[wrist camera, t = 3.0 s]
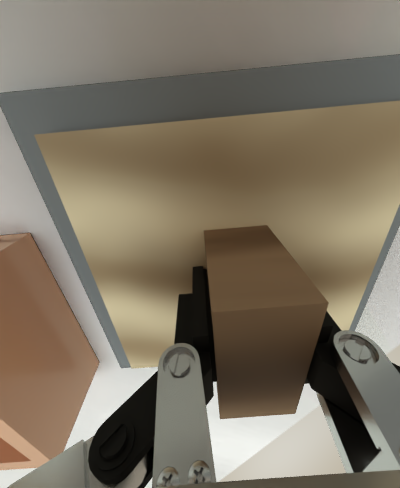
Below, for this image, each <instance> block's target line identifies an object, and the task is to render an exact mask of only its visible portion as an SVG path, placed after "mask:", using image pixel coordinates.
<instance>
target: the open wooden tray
mask: <svg viewBox="0 0 400 488" xmlns="http://www.w3.org/2000/svg"><path fill="white" fill-rule="evenodd" d="M98 365H99V361H98V359H97V357H96V355H95V353H94V352H93V350H92V348H91V346H90V344H89V342H88V340H87V339H86V337H85V335H84V333H83V331H82V329H81V327H80V325H79V324H78V322H77V320H76V318H75V316H74V314H73V312H72V311H71V309H70V307H69V305H68V303H67V301H66V299H65V297H64V296H63V294H62V292H61V290H60V288H59V286H58V284H57V283H56V281H55V279H54V277H53V275H52V273H51V271H50V269H49V268H48V266H47V264H46V262H45V260H44V258H43V256H42V255H41V253H40V251H39V249H38V247H37V245H36V243H35V242H34V240H33V238H32V236H31V234H30V233H24V234H12V235H1V236H0V470H9V469H24V468H38V467H40V466H41V465H43V464H45V463H46V462H48V461H49V460H51V459H53V458H54V457H56V456H57V455H59V454H61V453H62V452H63V451H64V448H65V446H66V443H67V441H68V438H69V436H70V434H71V431H72V429H73V426H74V424H75V421H76V419H77V416H78V414H79V411H80V409H81V407H82V404H83V402H84V399H85V397H86V394H87V392H88V389H89V387H90V385H91V382H92V380H93V377H94V375H95V372H96V370H97V367H98Z"/></svg>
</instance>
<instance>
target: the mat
mask: <svg viewBox="0 0 400 488" xmlns="http://www.w3.org/2000/svg"><path fill="white" fill-rule="evenodd" d="M390 101H400V54H398V55H387V56H377V57H367V58H356V59H346V60H336V61H325V62H315V63H304V64H294V65H284V66H273V67H263V68H253V69H242V70H232V71H222V72H211V73H201V74H190V75H180V76H170V77H159V78H149V79H139V80H128V81H118V82H108V83H97V84H87V85H76V86H66V87H56V88H45V89H35V90H25V91H14V92H4V93H0V106H1V109H2V111H3V113H4V115H5V117H6V119H7V122H8V124H9V126H10V128H11V130H12V132H13V135H14V137H15V139H16V141H17V143H18V145H19V148H20V150H21V152H22V154H23V156H24V159H25V161H26V163H27V165H28V167H29V169H30V172H31V174H32V176H33V178H34V180H35V182H36V185H37V187H38V189H39V191H40V193H41V195H42V198H43V200H44V202H45V204H46V206H47V208H48V211H49V213H50V215H51V217H52V219H53V221H54V224H55V226H56V228H57V230H58V232H59V235H60V237H61V239H62V241H63V243H64V245H65V248H66V250H67V252H68V254H69V256H70V258H71V261H72V263H73V265H74V267H75V269H76V271H77V274H78V276H79V278H80V280H81V282H82V284H83V287H84V289H85V291H86V293H87V295H88V298H89V300H90V302H91V304H92V306H93V308H94V311H95V313H96V315H97V317H98V319H99V321H100V324H101V326H102V328H103V330H104V332H105V334H106V337H107V339H108V341H109V343H110V345H111V347H112V350H113V352H114V354H115V356H116V358H117V361H118V363H119V365H120V367H121V368H129V367H131V366H130V363H129V361H128V359H127V356H126V354H125V351H124V349H123V347H122V344H121V342H120V339H119V337H118V335H117V332H116V330H115V327H114V325H113V323H112V320H111V318H110V315H109V313H108V311H107V308H106V306H105V303H104V301H103V299H102V296H101V294H100V292H99V289H98V287H97V284H96V282H95V280H94V277H93V275H92V272H91V270H90V268H89V265H88V263H87V260H86V258H85V256H84V253H83V251H82V248H81V246H80V244H79V241H78V239H77V236H76V234H75V232H74V229H73V227H72V224H71V222H70V220H69V217H68V215H67V212H66V210H65V208H64V205H63V203H62V201H61V198H60V196H59V193H58V191H57V189H56V186H55V184H54V181H53V179H52V177H51V174H50V172H49V169H48V167H47V165H46V162H45V160H44V157H43V155H42V153H41V150H40V148H39V145H38V143H37V141H36V138H35V136H34V135H36V134H47V133H57V132H68V131H79V130H90V129H100V128H111V127H122V126H132V125H143V124H154V123H165V122H175V121H186V120H197V119H207V118H218V117H229V116H240V115H250V114H261V113H272V112H282V111H293V110H304V109H315V108H325V107H336V106H347V105H358V104H368V103H379V102H390ZM399 226H400V205H399V207H398V210H397V212H396V215H395V217H394V219H393V222H392V224H391V227H390V229H389V232H388V234H387V237H386V239H385V242H384V244H383V247H382V249H381V252H380V254H379V257H378V259H377V262H376V264H375V267H374V269H373V272H372V274H371V276H370V279H369V281H368V284H367V286H366V289H365V291H364V294H363V296H362V299H361V301H360V304H359V306H358V309H357V311H356V314H355V316H354V319H353V321H352V324H351V326H350V328H349V331H355V329H356V327H357V324H358V322H359V320H360V317H361V315H362V312H363V310H364V308H365V305H366V303H367V301H368V298H369V296H370V294H371V291H372V289H373V287H374V284H375V282H376V280H377V277H378V275H379V273H380V270H381V268H382V265H383V263H384V261H385V258H386V256H387V254H388V251H389V249H390V247H391V244H392V242H393V240H394V237H395V235H396V233H397V230H398V228H399Z"/></svg>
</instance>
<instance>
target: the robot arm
mask: <svg viewBox="0 0 400 488" xmlns="http://www.w3.org/2000/svg"><path fill="white" fill-rule="evenodd" d="M216 381H217V376H216V362H215V349H214V336H213V325H212V315H211V305H210V295H209V284H208V274H207V269H203V266H197V267H193V270H192V293H189V294H179V297H178V307H177V318H176V329H175V340H174V345H172V346H170V347H169V348H167V349H166V350H165V351H164V352H163V353H162V355H161V357H160V359H159V364H158V371H157V372H156V373H155V374H154V375H153V376H152V377H151V378H150V379H149V380H147V381H146V382H145V383H144V384H143V385H142V386H141V387H140V388H139V389H138V390H137V391H136V392H135V393H134V394H133V395H132V396H131V397H130V398H129V399H128V400H127V401H126V402H125V403H124V404H122V405H121V406H120V407H119V408H118V409H117V410H116V411H115V412H114V413H113V414H112V415H111V416H110V417H109V418H108V419H107V420H106V421H105V422H104V423H103V424H102V425H101V426H100V428H99V429H98V430H97V432H96V434H95V436H93V437H91V438H90V439H88V440H87V441H84V440H81V441H80V442H78V443H76V444H75V445H73V446H72V447H70V448H68V449H67V450H65V451H64V452H62V453H61V454H59V455H57V456H56V457H54V458H53V459H51V460H49V461H48V462H46V463H45V464H43V465H41V466H40V467H38V468H37V469H35V470H34V471H32V472H30V473H29V474H27V475H26V476H24V477H22V478H21V479H19V480H18V481H16V482H14V483H13V484H11V485H10V486H9V487H8V488H144V487H145V486H146V485H147V483H148V482H149V481H150V479H151V478H152V477H153V479H152V488H400V366H397V365H396V364H393V363H391V361H390V360H389V359H388V357H387V356H386V355H385V353H384V352H383V351H382V349H381V348H380V347H379V346H378V345H377V344H376V343H375V342H374V341H373V340H371V339H370V338H368V337H367V336H365V335H363V334H361V333H358V332H355V331H349V330H344V331H342V330H341V329H340V328H339V326H338V325H337V324H336V322H335V321H334V320H333V318H332V317H331V316H330V314H329V313H328V312H327V311H326V314H325V317H324V321H323V324H322V327H321V331H320V334H319V337H318V340H317V344H316V347H315V350H314V354H313V357H312V360H311V363H310V367H309V370H308V373H307V377H306V380H305V383H304V384H306V383H309V384H310V386H311V388H312V389H313V390H314V391H316V393H317V397H318V399H319V402H320V405H321V407H322V410H323V412H324V415H325V418H326V421H327V423H328V426H329V429H330V431H331V434H332V436H333V439H334V442H335V445H336V447H337V450H338V452H339V455H340V458H341V461H342V463H343V466H344V468H345V471H346V473H343V474H328V475H314V476H299V477H284V478H270V479H256V480H242V481H229V482H216V477H215V469H214V462H213V454H212V447H211V439H210V432H209V424H208V417H207V410H206V405H207V404H208V403H209V401H210V400H211V399H212V397H213V396H214V395H213V382H216Z"/></svg>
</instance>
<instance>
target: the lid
mask: <svg viewBox="0 0 400 488" xmlns="http://www.w3.org/2000/svg"><path fill="white" fill-rule="evenodd" d="M34 136H35V138H36V141H37V143H38V145H39V148H40V150H41V153H42V155H43V157H44V160H45V162H46V165H47V167H48V169H49V172H50V174H51V177H52V179H53V181H54V184H55V186H56V189H57V191H58V193H59V196H60V198H61V201H62V203H63V205H64V208H65V210H66V212H67V215H68V217H69V220H70V222H71V224H72V227H73V229H74V232H75V234H76V236H77V239H78V241H79V244H80V246H81V248H82V251H83V253H84V256H85V258H86V260H87V263H88V265H89V268H90V270H91V272H92V275H93V277H94V280H95V282H96V284H97V287H98V289H99V292H100V294H101V296H102V299H103V301H104V303H105V306H106V308H107V311H108V313H109V315H110V318H111V320H112V323H113V325H114V327H115V330H116V332H117V335H118V337H119V339H120V342H121V344H122V347H123V349H124V351H125V354H126V356H127V359H128V361H129V363H130V366H131V368H145V367H158V364H159V359H160V357H161V355H162V353H163V352H164V351H165V350H166V349H167V348H169V347H170V346H172V345H174V340H175V329H176V318H177V307H178V297H179V294H189V293H192V270H193V267H197V266H203V269H207V274H208V284H209V295H210V305H211V315H212V325H213V336H214V349H215V362H216V376H217V392H218V403H219V414H220V419H227V418H241V417H255V416H269V415H283V414H295V413H296V409H297V406H298V403H299V399H300V396H301V393H302V390H303V386H304V383H305V380H306V377H307V373H308V370H309V367H310V363H311V360H312V357H313V354H314V350H315V347H316V344H317V340H318V337H319V334H320V331H321V327H322V324H323V321H324V317H325V314H326V311H327V312H328V313H329V314H330V316H331V317H332V318H333V320H334V321H335V322H336V324H337V325H338V326H339V328H340V329H341V330H342V331H344V330H349V328H350V326H351V324H352V321H353V319H354V316H355V314H356V311H357V309H358V306H359V304H360V301H361V299H362V296H363V294H364V291H365V289H366V286H367V284H368V281H369V279H370V276H371V274H372V272H373V269H374V267H375V264H376V262H377V259H378V257H379V254H380V252H381V249H382V247H383V244H384V242H385V239H386V237H387V234H388V232H389V229H390V227H391V224H392V222H393V219H394V217H395V215H396V212H397V210H398V207H399V205H400V101H390V102H379V103H368V104H358V105H347V106H336V107H325V108H315V109H304V110H293V111H282V112H272V113H261V114H250V115H240V116H229V117H218V118H207V119H197V120H186V121H175V122H165V123H154V124H143V125H132V126H122V127H111V128H100V129H90V130H79V131H68V132H57V133H47V134H36V135H34Z"/></svg>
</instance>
